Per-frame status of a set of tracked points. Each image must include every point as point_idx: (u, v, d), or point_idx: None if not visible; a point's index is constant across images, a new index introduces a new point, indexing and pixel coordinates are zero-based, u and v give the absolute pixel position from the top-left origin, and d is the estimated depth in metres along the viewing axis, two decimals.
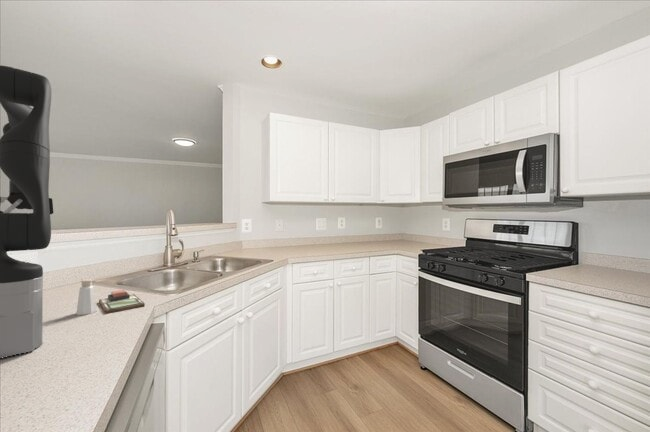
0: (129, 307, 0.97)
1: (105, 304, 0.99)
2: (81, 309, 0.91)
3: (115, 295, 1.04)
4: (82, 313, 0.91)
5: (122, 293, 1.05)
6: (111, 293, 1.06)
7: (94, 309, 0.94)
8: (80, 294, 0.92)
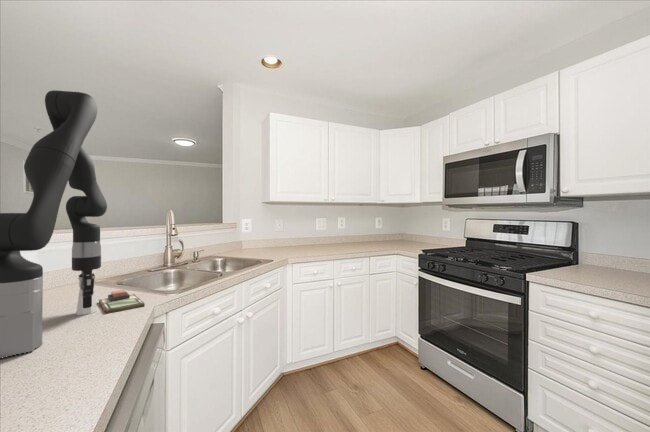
0: (129, 307, 0.97)
1: (105, 304, 0.99)
2: (81, 309, 0.91)
3: (115, 295, 1.04)
4: (82, 313, 0.91)
5: (122, 293, 1.05)
6: (111, 293, 1.06)
7: (94, 309, 0.94)
8: (80, 294, 0.92)
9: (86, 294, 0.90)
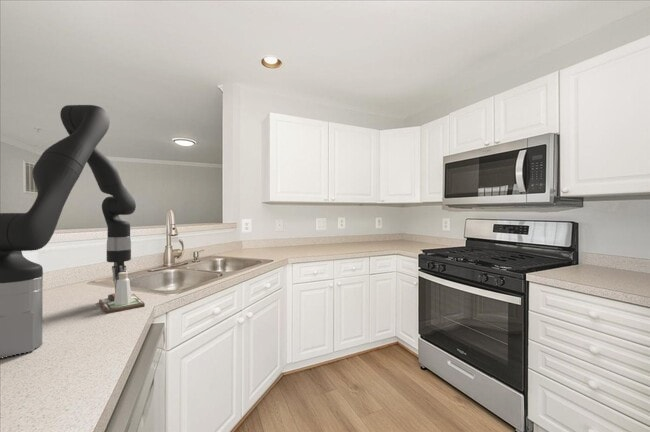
0: (129, 307, 0.97)
1: (105, 304, 0.99)
2: (119, 300, 0.98)
3: None
4: (120, 303, 0.98)
5: None
6: (111, 295, 1.06)
7: (130, 300, 1.00)
8: (118, 286, 0.98)
9: None
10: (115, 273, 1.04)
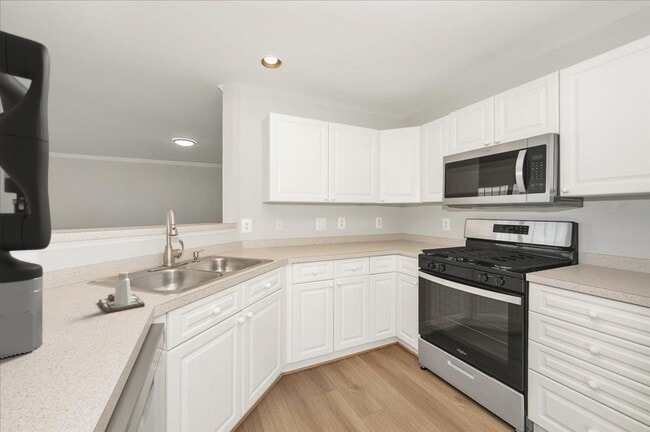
0: (129, 307, 0.97)
1: (105, 304, 0.99)
2: (119, 300, 0.98)
3: None
4: (120, 303, 0.98)
5: None
6: (111, 295, 1.06)
7: (130, 300, 1.00)
8: (118, 286, 0.98)
9: None
10: (15, 206, 0.85)
